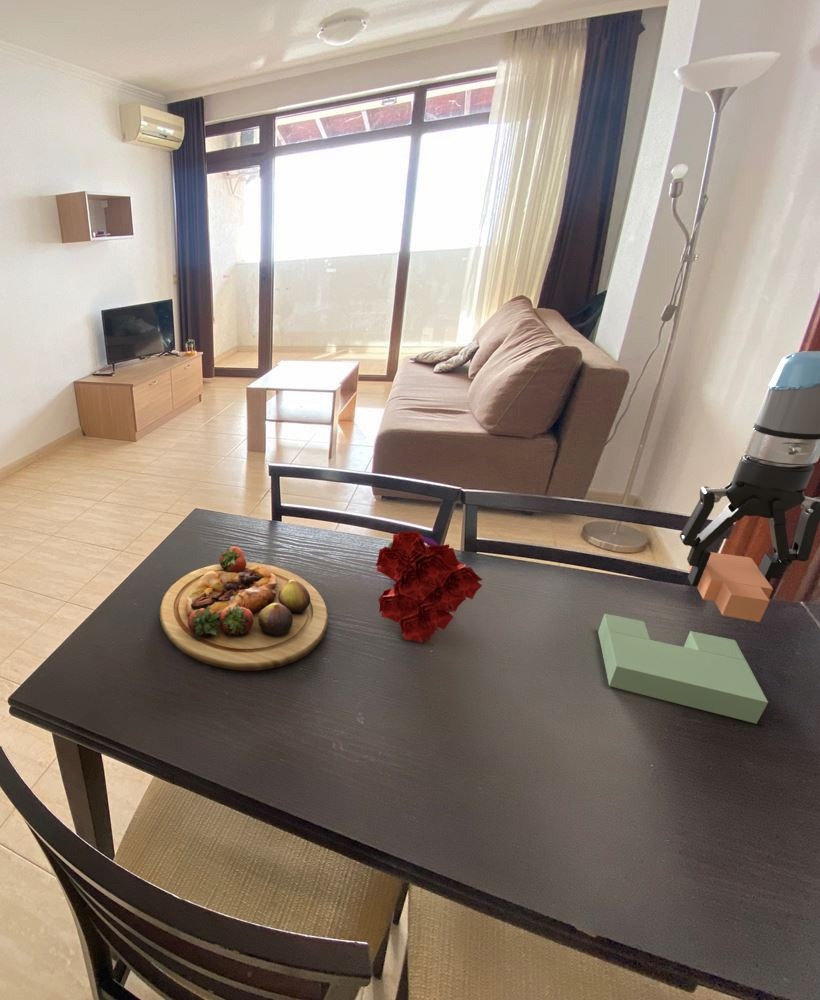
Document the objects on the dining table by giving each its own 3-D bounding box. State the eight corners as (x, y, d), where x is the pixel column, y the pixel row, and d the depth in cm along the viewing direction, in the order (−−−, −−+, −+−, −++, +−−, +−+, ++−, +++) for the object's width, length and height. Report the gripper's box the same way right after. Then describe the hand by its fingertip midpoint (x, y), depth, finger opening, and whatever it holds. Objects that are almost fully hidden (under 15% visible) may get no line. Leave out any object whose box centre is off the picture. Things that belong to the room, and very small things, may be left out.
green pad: (725, 660, 85) (735, 640, 83) (756, 723, 74) (768, 702, 72) (597, 632, 92) (604, 613, 91) (609, 686, 82) (616, 666, 80)
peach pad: (742, 577, 92) (751, 557, 90) (772, 624, 81) (783, 603, 80) (687, 569, 96) (695, 549, 94) (709, 613, 85) (718, 592, 83)
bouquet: (434, 584, 119) (477, 651, 90) (355, 579, 123) (372, 641, 94) (443, 498, 114) (490, 539, 86) (361, 495, 118) (380, 534, 90)
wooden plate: (180, 564, 123) (178, 533, 119) (326, 576, 114) (328, 542, 110) (140, 661, 95) (135, 623, 92) (328, 686, 86) (331, 645, 83)
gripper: (694, 460, 82) (650, 585, 92) (894, 476, 72) (820, 614, 82) (682, 444, 88) (642, 563, 98) (866, 457, 78) (800, 588, 88)
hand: (723, 586), depth 90 cm, fingers closed on peach pad, 7 cm apart
